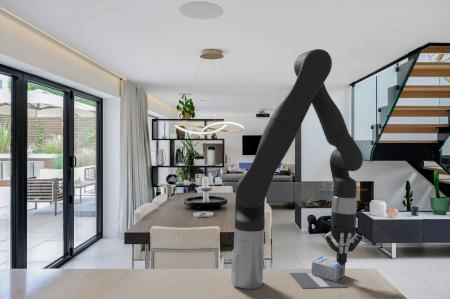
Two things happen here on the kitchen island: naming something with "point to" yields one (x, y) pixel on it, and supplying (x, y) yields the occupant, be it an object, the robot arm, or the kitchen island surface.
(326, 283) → the mat
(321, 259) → the medicine box
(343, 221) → the robot arm
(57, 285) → the kitchen island surface
